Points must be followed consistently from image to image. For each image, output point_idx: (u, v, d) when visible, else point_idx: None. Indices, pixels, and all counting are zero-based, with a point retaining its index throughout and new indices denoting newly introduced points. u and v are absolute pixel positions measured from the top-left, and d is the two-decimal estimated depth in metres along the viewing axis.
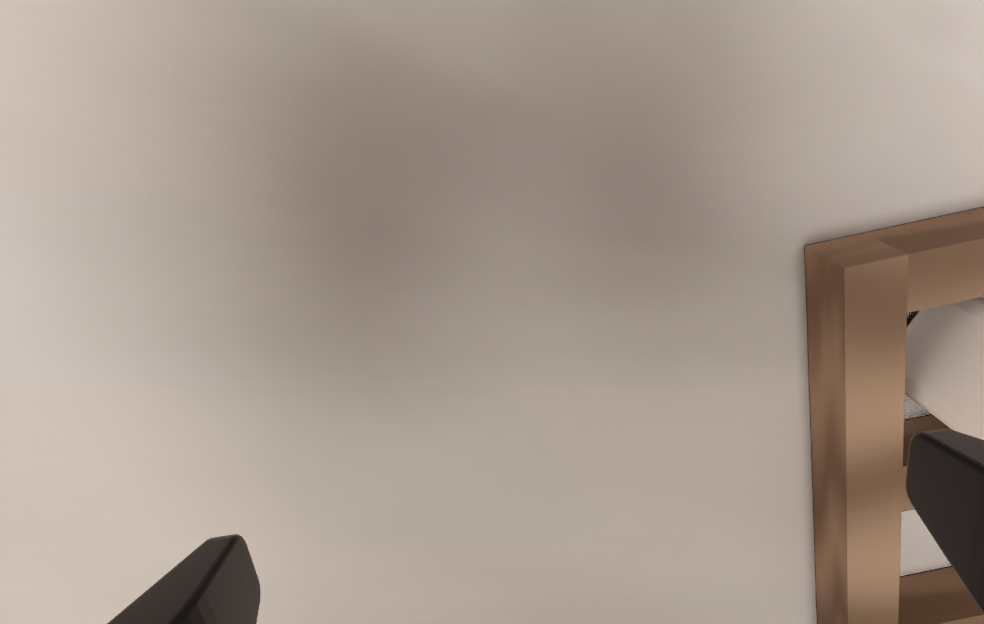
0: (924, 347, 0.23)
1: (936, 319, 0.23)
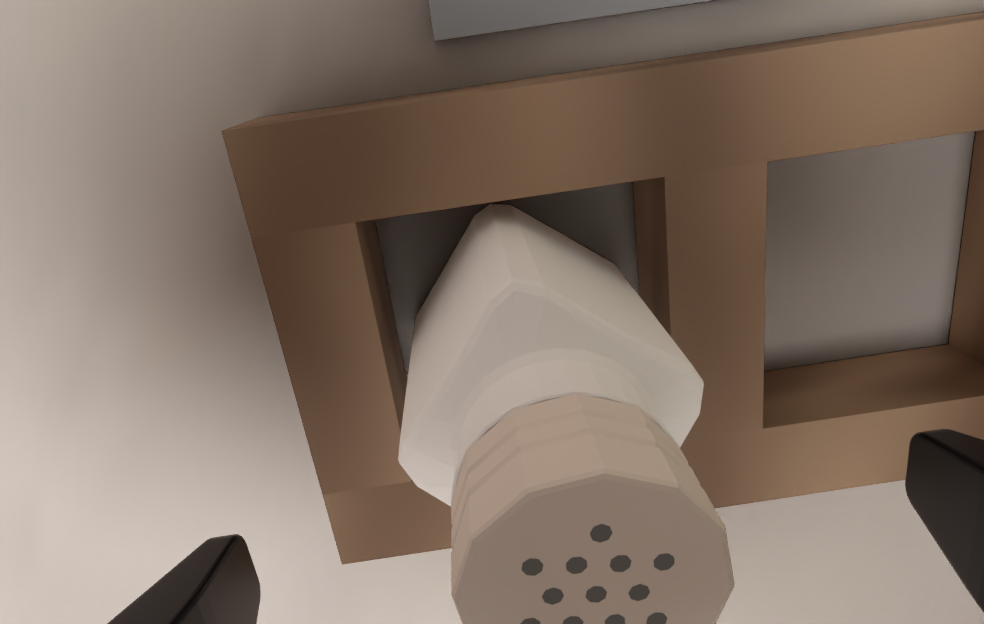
0: None
1: None
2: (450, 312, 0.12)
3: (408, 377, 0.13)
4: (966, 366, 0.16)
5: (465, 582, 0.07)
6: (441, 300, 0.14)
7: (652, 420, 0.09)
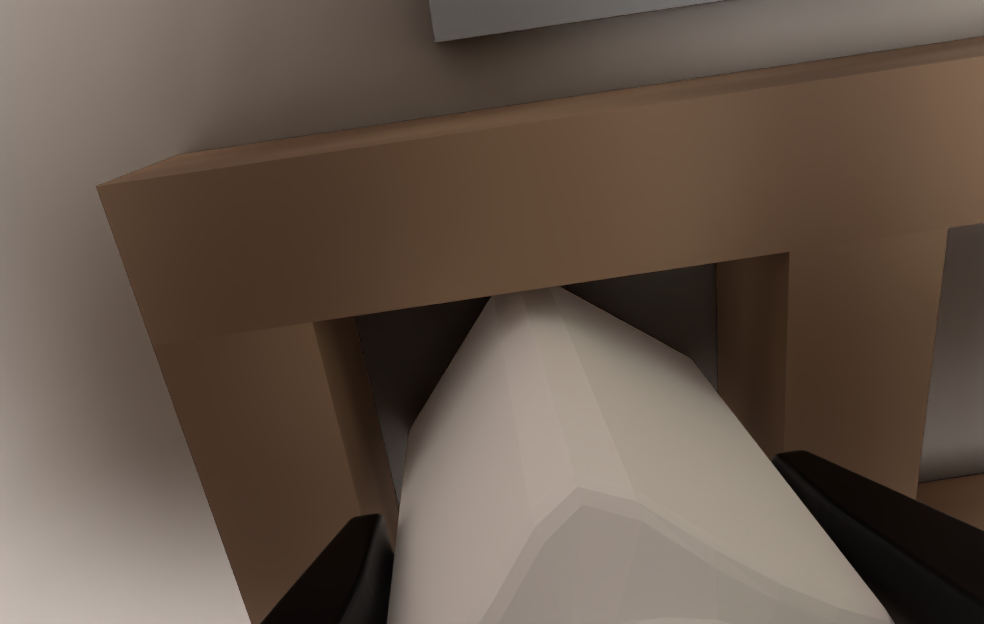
0: None
1: None
2: (460, 479, 0.07)
3: (394, 563, 0.08)
4: None
5: None
6: (445, 433, 0.09)
7: None
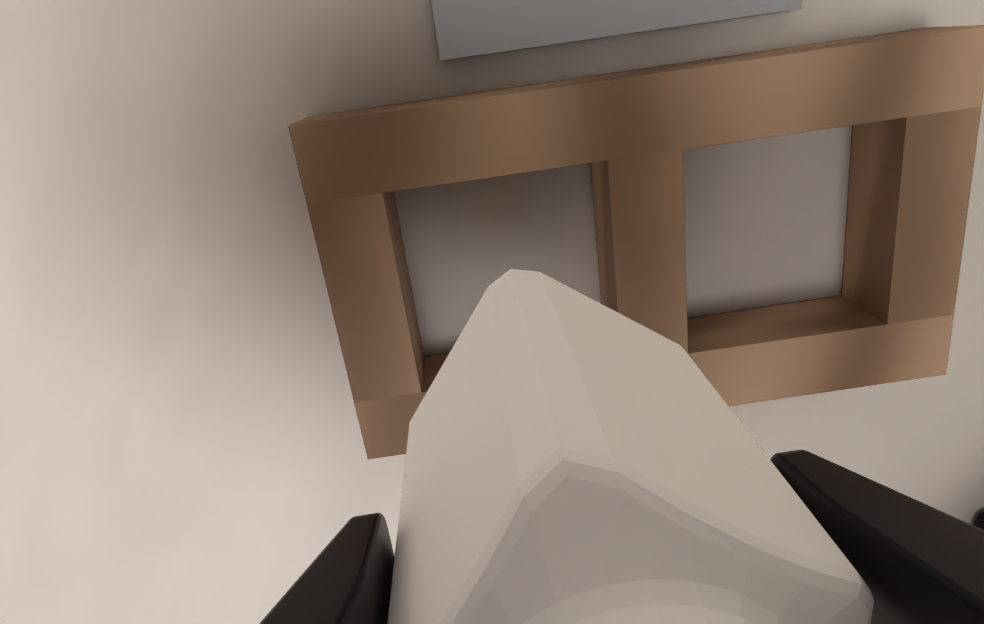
0: None
1: None
2: (457, 460, 0.08)
3: (397, 544, 0.09)
4: (850, 310, 0.21)
5: None
6: (444, 420, 0.09)
7: None
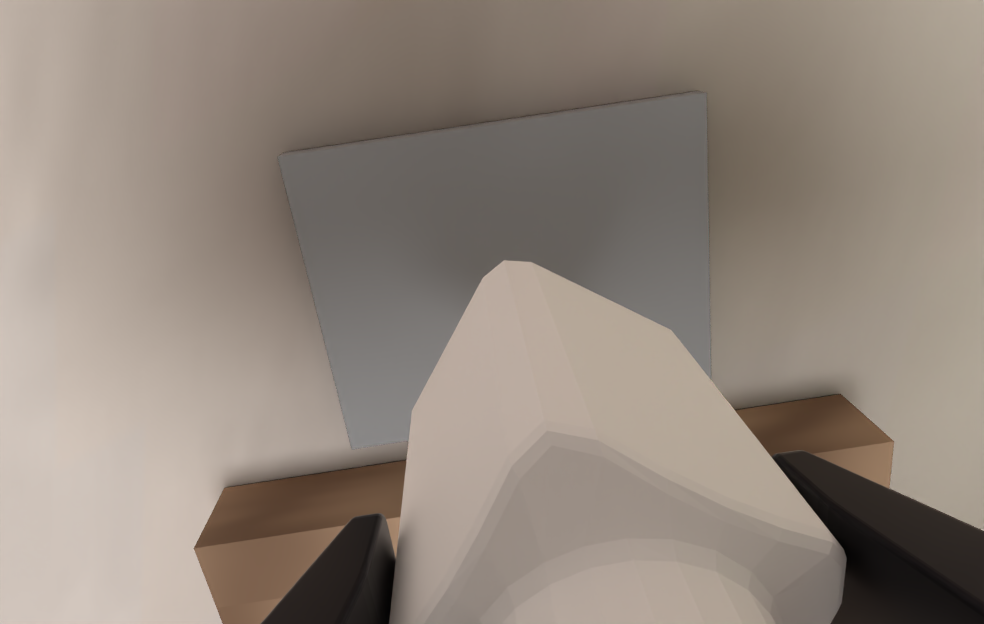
0: None
1: None
2: (454, 440, 0.08)
3: (400, 523, 0.09)
4: None
5: None
6: (442, 405, 0.10)
7: None
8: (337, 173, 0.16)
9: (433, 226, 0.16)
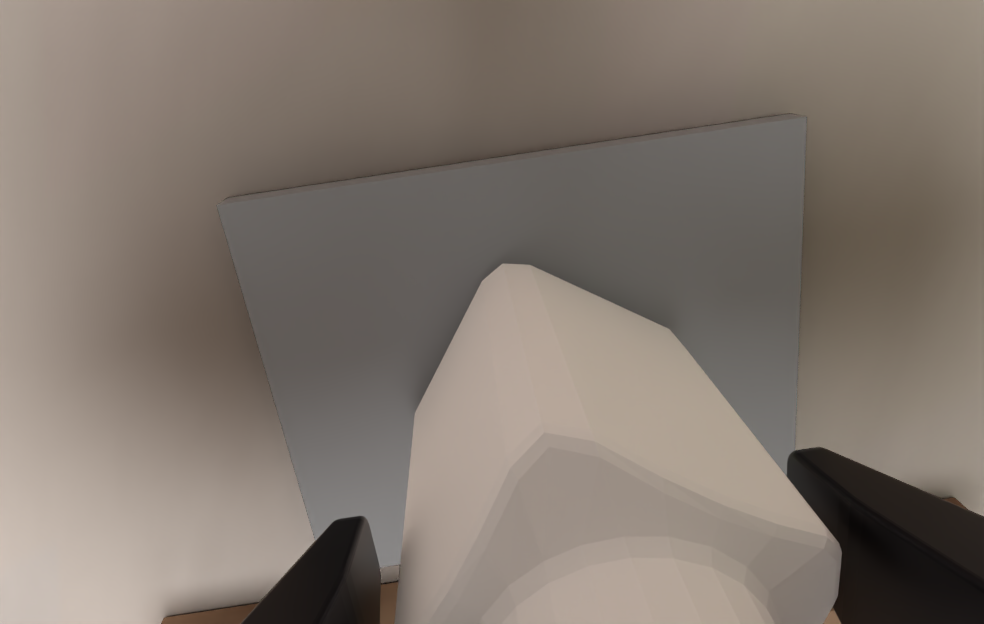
0: None
1: None
2: (455, 443, 0.08)
3: (405, 524, 0.09)
4: None
5: None
6: (444, 407, 0.10)
7: None
8: (300, 226, 0.11)
9: (431, 296, 0.12)
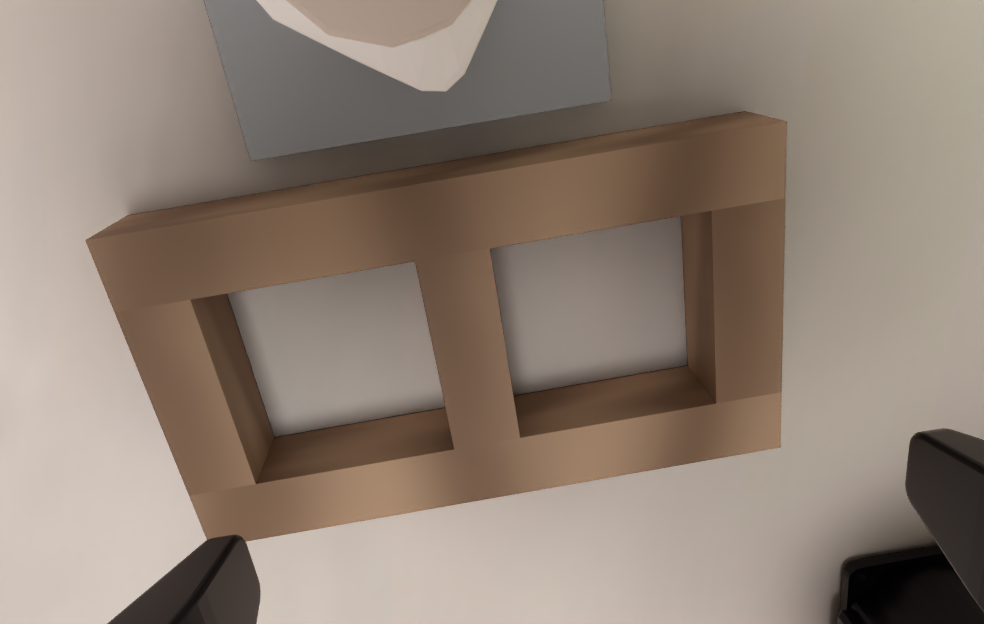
0: None
1: None
2: None
3: None
4: (688, 384, 0.21)
5: None
6: None
7: None
8: None
9: None
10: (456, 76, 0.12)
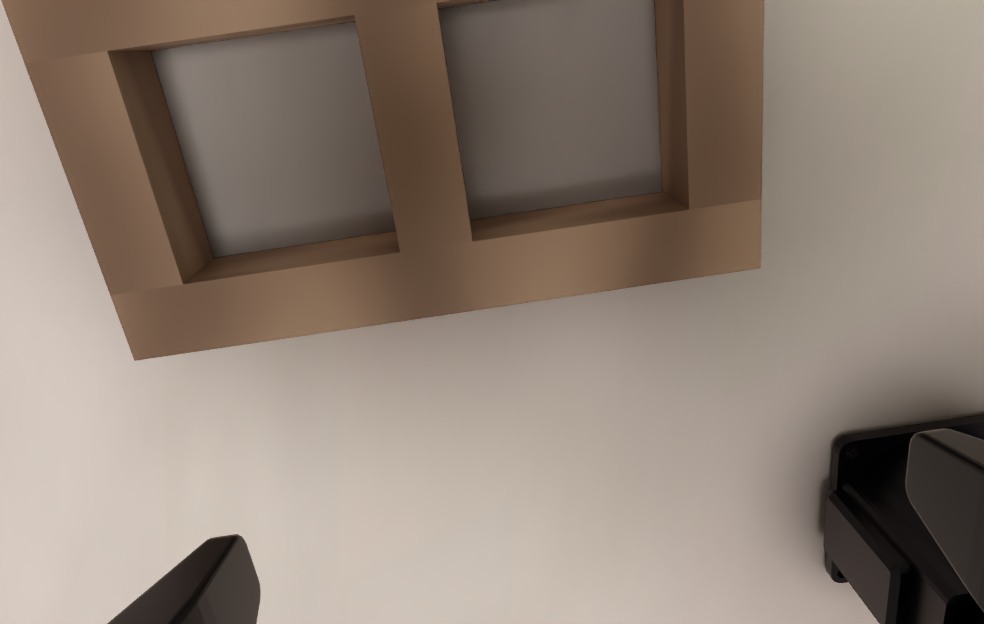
0: None
1: None
2: None
3: None
4: (661, 201, 0.20)
5: None
6: None
7: None
8: None
9: None
10: None
